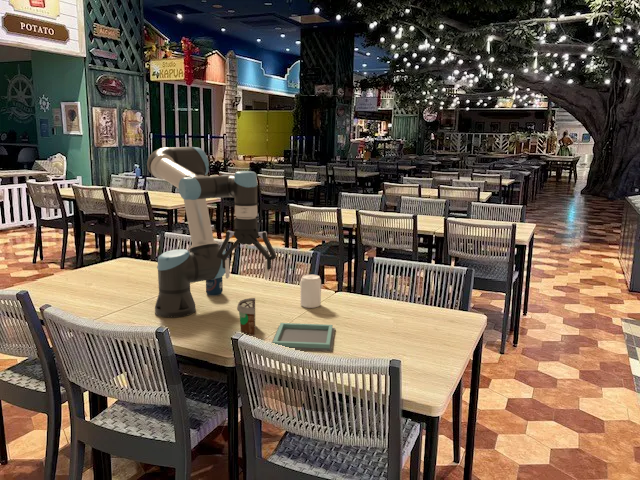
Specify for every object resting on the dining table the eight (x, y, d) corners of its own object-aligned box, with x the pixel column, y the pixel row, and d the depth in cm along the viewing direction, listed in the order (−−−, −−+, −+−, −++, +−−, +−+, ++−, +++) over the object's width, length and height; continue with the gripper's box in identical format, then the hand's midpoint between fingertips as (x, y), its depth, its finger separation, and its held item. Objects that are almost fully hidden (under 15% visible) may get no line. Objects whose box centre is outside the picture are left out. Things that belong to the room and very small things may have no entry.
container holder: (269, 348, 183) (269, 343, 183) (278, 327, 203) (278, 321, 202) (331, 351, 182) (331, 345, 181) (334, 329, 201) (334, 324, 201)
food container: (238, 324, 205) (237, 297, 203) (255, 324, 206) (255, 297, 204) (236, 336, 193) (235, 308, 191) (254, 336, 194) (254, 308, 192)
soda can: (202, 295, 239) (202, 267, 237) (211, 290, 246) (211, 264, 243) (217, 297, 237) (216, 269, 234) (225, 292, 243) (225, 265, 241)
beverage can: (318, 309, 223) (318, 280, 220) (298, 307, 224) (298, 278, 222) (322, 303, 231) (322, 274, 228) (303, 301, 232) (303, 273, 230)
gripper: (207, 218, 189) (208, 279, 193) (281, 219, 188) (281, 281, 192) (212, 214, 196) (213, 274, 201) (284, 216, 195) (284, 276, 199)
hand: (247, 278), depth 196 cm, fingers open, 13 cm apart
